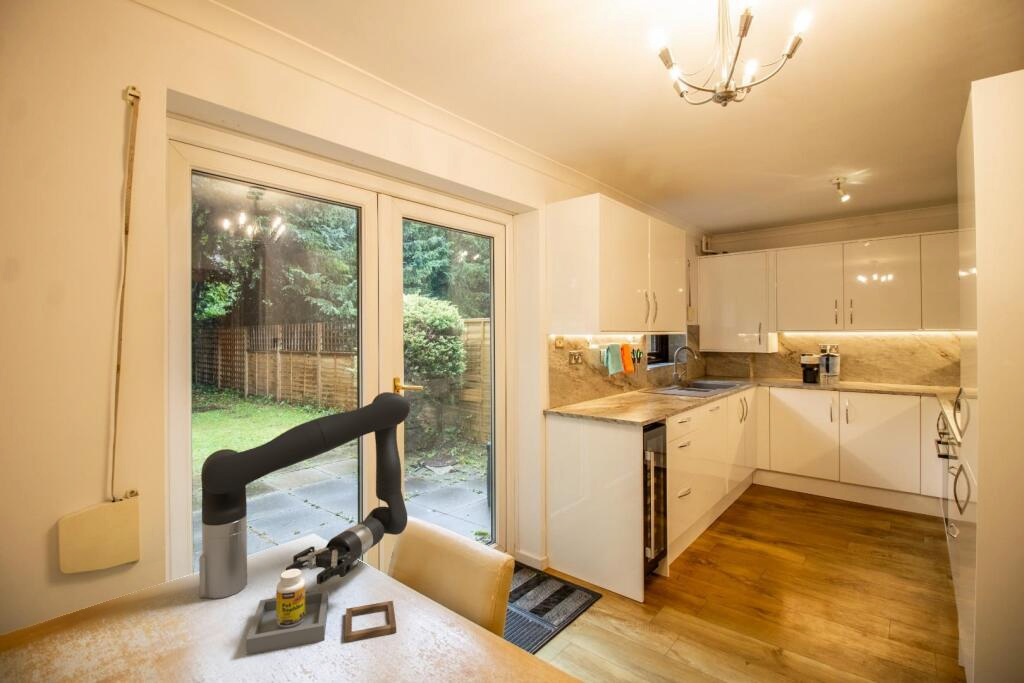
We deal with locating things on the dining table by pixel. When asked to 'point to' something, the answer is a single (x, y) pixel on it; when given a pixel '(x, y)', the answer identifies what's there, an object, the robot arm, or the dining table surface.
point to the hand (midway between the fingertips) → (302, 576)
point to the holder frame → (373, 631)
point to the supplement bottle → (290, 599)
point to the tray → (274, 637)
